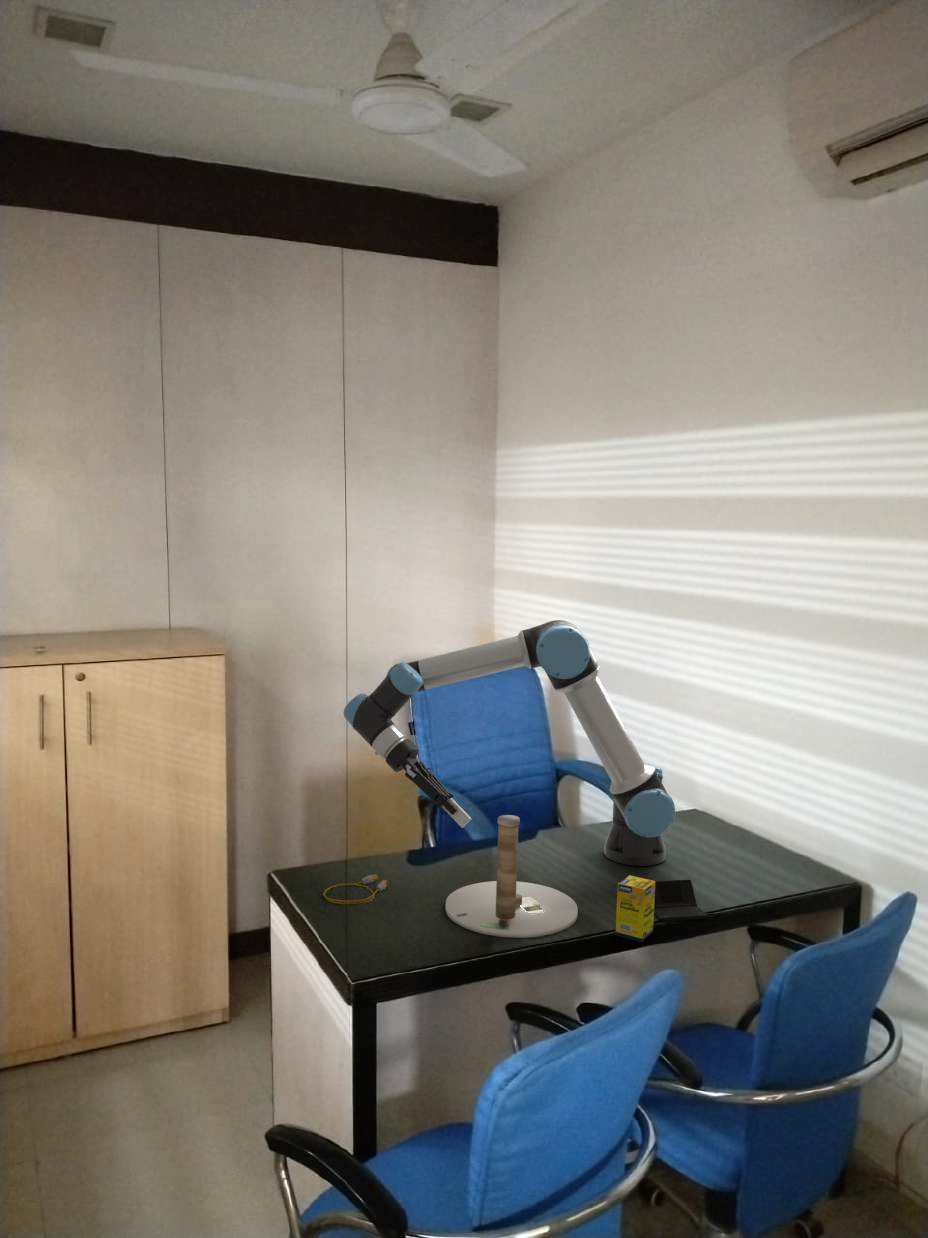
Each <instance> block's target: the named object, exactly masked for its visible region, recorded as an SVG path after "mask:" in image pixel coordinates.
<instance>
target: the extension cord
mask: <svg viewBox="0 0 928 1238" xmlns="http://www.w3.org/2000/svg"><path fill="white" fill-rule="evenodd" d="M377 881H378V875H377V874H370V875H366V876H365V877H363V878H361V879H360V881H358V882H355V883H338V884H334V885H331V886H330V887H328V888H326V889H325V890H323V894H322V895H323V898H324V897H325V898H324V899H325V900H326V901H328V902H330V903H332V904H337V905H338V904H339V905H357V904H365V903H369V902H371V901H373V899H375V895H376V893H378V892H377V891H380V892H382V891H384V890H385V889H386V888H387V887H388V886H389V885H390V883H389V881H388V880H386V879H382V880H381V881H380V882H378V883H377V885H376V887H375V891H373V890H372V889H371V888H370V887H368V886H366V885H369V884H372V883H374V882H377ZM353 885H355V886H354V887H362V886H363V887H362V888H365V887H366V888H365V889H367V890H368V889H369V890H368V891H369V892H371V895H370V896H368V897H366V898H364V899H363V898H362V899H358V900H357V899H356V900H355V899H354V900H346V899H345V900H344V899H343V900H341V899H335V898H330V897H328V896H326V894H325V893H327V892H326V891H327V890H330V889H331V888H333V887H334V889H336V888H337V887H336V886H340V887H341V886H353ZM335 887H336V888H335ZM383 889H384V890H383ZM381 890H382V891H381ZM330 891H331V890H330ZM372 893H373V894H372Z"/></svg>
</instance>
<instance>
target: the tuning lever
mask: <svg viewBox="0 0 928 1238" xmlns="http://www.w3.org/2000/svg"><path fill="white" fill-rule="evenodd" d="M520 820H521V819H520V817H519V816H517V815H511V814H503V815H500V816H498V817H497V824H498V826H497V827H498V828H497V829H498V832H497V857H496V860H497V861H496V881H497V884H496V917H497V918H499V925H500V928H506V926H509V923H510V920H511V919H513V918H515V909H516V907H518V906H520V905H522V896H521V895H520V894H517V893H516V881H517V878H518V876H517V873H518V850H519V849H518V848H519V847H518V845H519V825H520V823H521V821H520ZM517 882H518V881H517Z"/></svg>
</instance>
